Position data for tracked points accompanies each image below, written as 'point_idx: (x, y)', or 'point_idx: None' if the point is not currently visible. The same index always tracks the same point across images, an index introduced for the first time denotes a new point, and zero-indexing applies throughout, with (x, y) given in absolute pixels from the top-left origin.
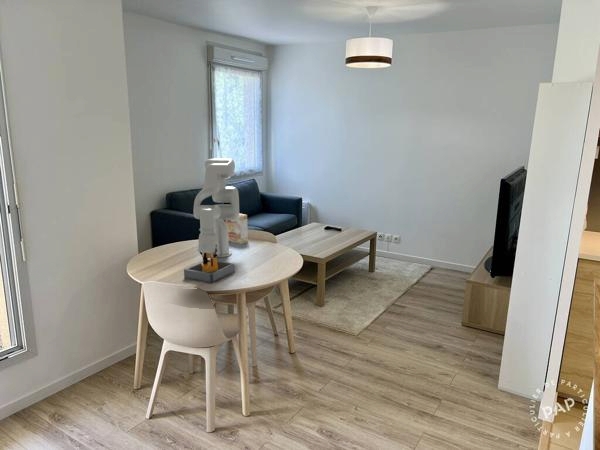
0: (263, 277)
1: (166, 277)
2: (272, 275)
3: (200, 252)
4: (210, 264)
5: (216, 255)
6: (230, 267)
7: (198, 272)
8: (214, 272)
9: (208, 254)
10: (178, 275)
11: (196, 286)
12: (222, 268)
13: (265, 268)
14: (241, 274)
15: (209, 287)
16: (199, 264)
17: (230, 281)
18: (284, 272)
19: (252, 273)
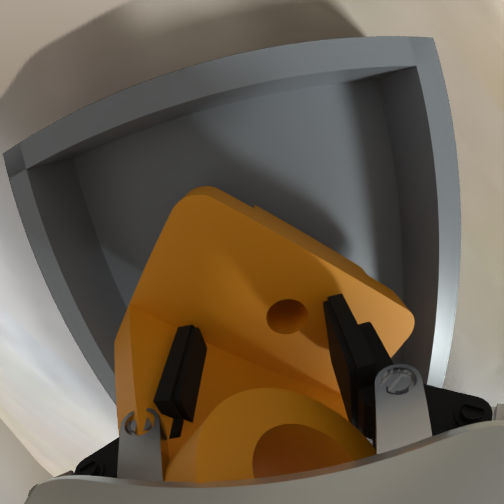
0: (21, 405)
1: (493, 27)
2: (32, 433)
3: (478, 417)
4: (275, 356)
5: (76, 467)
6: None
7: (178, 70)
8: (29, 215)
9: (183, 460)
10: (478, 101)
11: (110, 11)
12: (96, 355)
13: None
14: (110, 403)
15: (22, 86)
16: (433, 300)
17: (28, 277)
18: (49, 463)
19: (94, 430)
